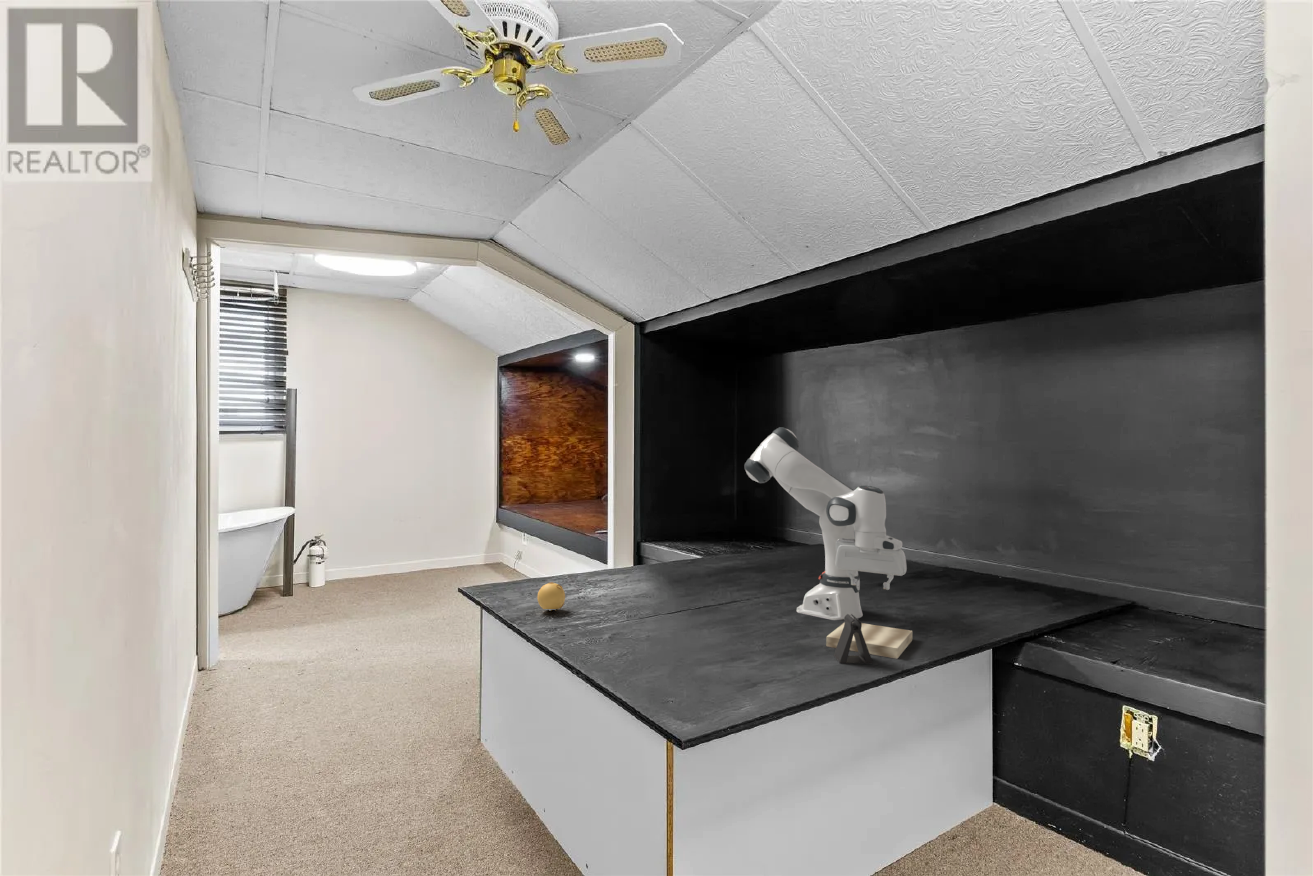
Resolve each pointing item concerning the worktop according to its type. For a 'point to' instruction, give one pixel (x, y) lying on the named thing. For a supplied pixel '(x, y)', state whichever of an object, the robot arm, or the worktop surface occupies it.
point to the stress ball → (551, 596)
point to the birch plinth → (876, 640)
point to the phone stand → (845, 641)
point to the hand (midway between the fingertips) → (870, 587)
